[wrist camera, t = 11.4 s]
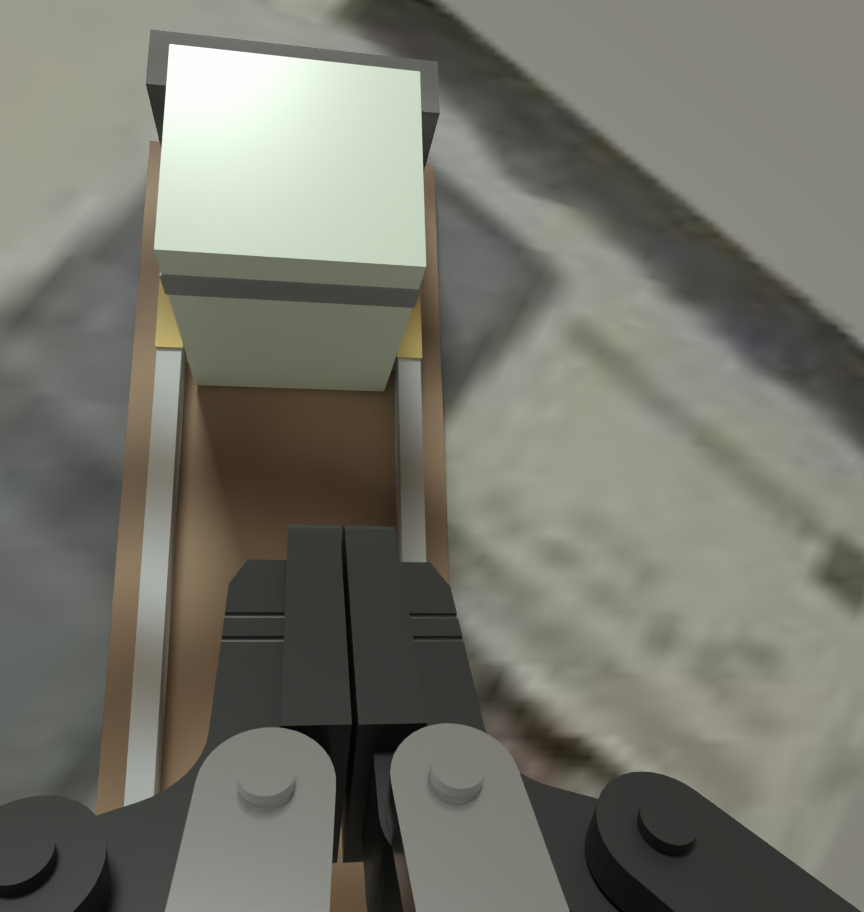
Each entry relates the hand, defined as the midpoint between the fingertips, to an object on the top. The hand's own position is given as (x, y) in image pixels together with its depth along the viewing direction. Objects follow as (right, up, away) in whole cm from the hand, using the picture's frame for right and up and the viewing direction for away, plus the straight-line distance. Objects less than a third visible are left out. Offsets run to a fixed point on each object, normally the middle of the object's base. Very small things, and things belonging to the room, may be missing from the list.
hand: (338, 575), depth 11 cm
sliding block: (-4, +7, +17) cm, 19 cm away
